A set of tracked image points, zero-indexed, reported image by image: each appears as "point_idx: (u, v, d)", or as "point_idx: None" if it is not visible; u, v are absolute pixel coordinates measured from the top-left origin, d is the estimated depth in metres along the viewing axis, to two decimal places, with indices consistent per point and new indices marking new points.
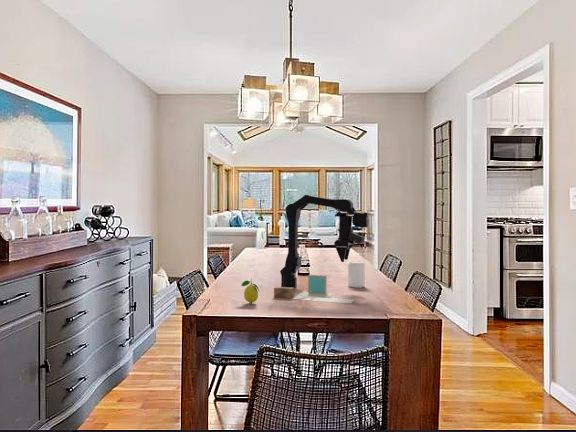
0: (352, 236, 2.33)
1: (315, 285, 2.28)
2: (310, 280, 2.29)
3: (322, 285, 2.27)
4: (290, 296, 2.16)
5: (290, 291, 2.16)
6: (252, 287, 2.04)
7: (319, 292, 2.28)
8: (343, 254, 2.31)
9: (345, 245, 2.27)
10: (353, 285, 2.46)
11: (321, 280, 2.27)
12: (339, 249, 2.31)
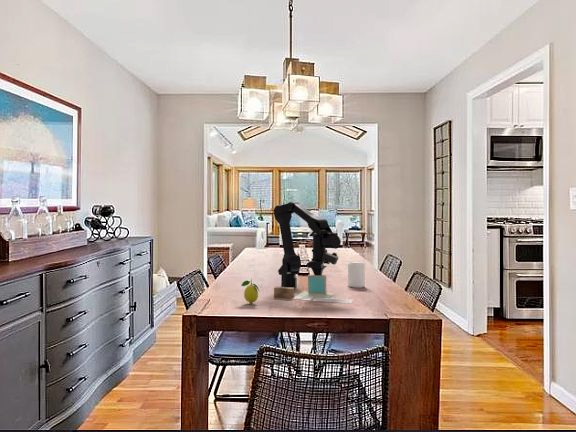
0: (326, 257, 2.27)
1: (315, 286, 2.28)
2: (310, 280, 2.28)
3: (322, 285, 2.27)
4: (290, 296, 2.16)
5: (290, 291, 2.16)
6: (252, 287, 2.04)
7: (319, 292, 2.28)
8: (319, 274, 2.29)
9: (318, 267, 2.21)
10: (353, 285, 2.46)
11: (321, 280, 2.27)
12: (315, 269, 2.29)
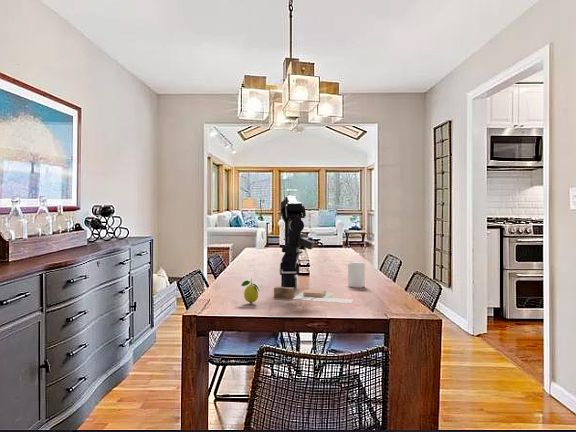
0: (301, 241, 2.17)
1: None
2: None
3: None
4: (290, 296, 2.16)
5: (290, 291, 2.16)
6: (252, 287, 2.04)
7: None
8: (294, 260, 2.20)
9: (293, 251, 2.11)
10: (353, 285, 2.46)
11: None
12: (290, 255, 2.20)
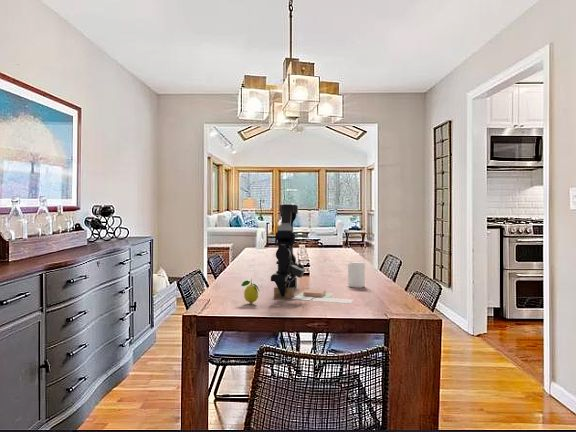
0: (291, 269, 2.15)
1: None
2: None
3: None
4: (290, 296, 2.16)
5: (290, 291, 2.16)
6: (252, 287, 2.04)
7: None
8: (283, 288, 2.16)
9: (282, 280, 2.09)
10: (353, 285, 2.46)
11: None
12: (279, 283, 2.16)
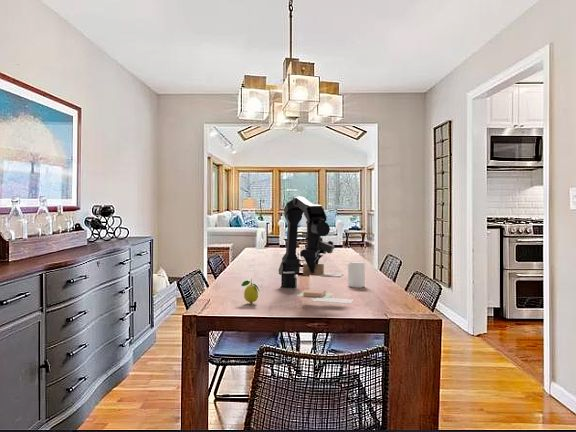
0: (321, 245, 2.11)
1: None
2: None
3: None
4: (319, 272, 2.12)
5: (319, 267, 2.12)
6: (252, 287, 2.04)
7: None
8: (312, 264, 2.12)
9: (312, 255, 2.05)
10: (353, 285, 2.46)
11: None
12: (308, 259, 2.12)
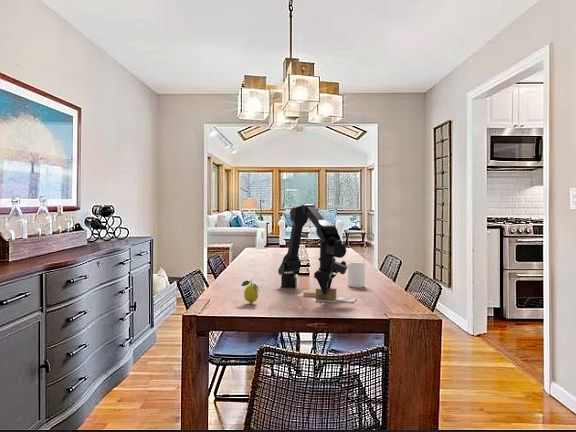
0: (334, 266, 2.10)
1: None
2: None
3: None
4: (333, 297, 2.12)
5: (333, 292, 2.12)
6: (252, 287, 2.04)
7: None
8: (325, 286, 2.10)
9: (326, 277, 2.05)
10: (353, 285, 2.46)
11: None
12: (321, 280, 2.10)
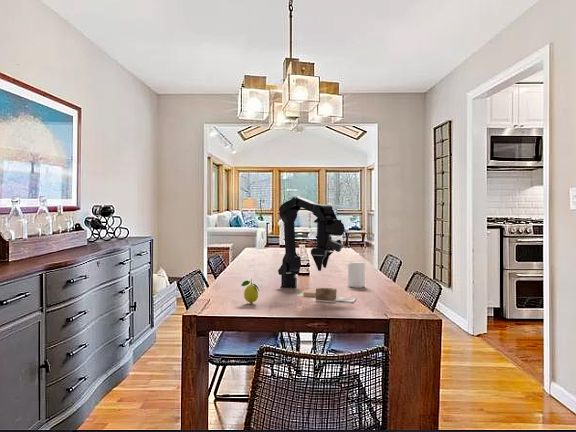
0: (330, 244, 2.22)
1: None
2: None
3: None
4: (333, 297, 2.12)
5: (333, 292, 2.12)
6: (252, 287, 2.04)
7: None
8: (320, 263, 2.21)
9: (322, 254, 2.16)
10: (353, 285, 2.46)
11: None
12: (316, 257, 2.21)
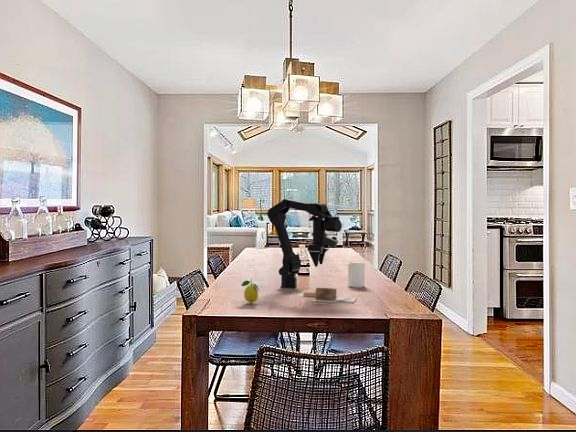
0: (326, 240, 2.31)
1: None
2: None
3: None
4: (333, 297, 2.12)
5: (333, 292, 2.12)
6: (252, 287, 2.04)
7: None
8: (316, 259, 2.29)
9: (318, 250, 2.25)
10: (353, 285, 2.46)
11: None
12: (312, 254, 2.29)
